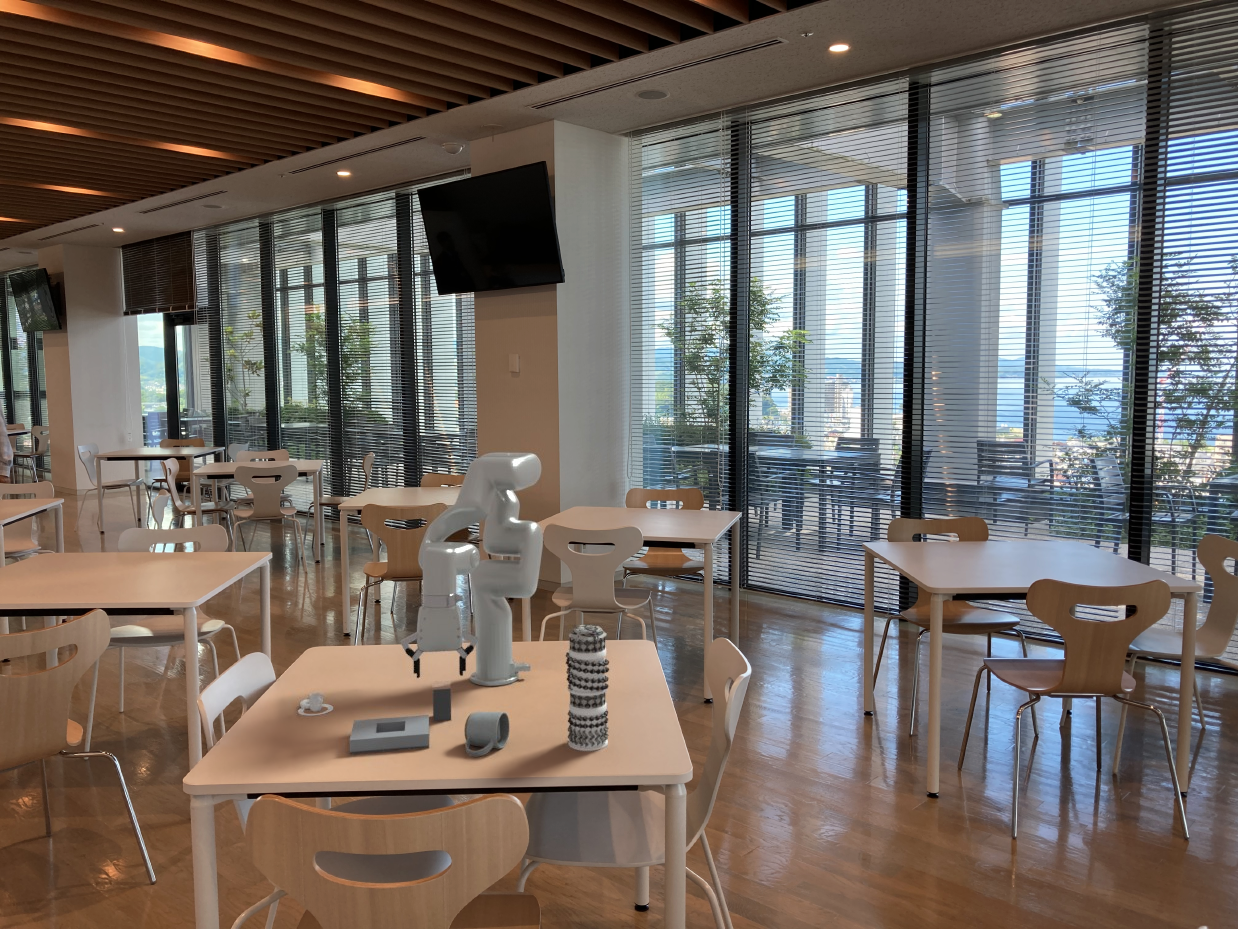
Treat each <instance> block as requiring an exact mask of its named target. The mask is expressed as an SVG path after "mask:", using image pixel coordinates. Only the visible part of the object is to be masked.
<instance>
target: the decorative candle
mask: <svg viewBox="0 0 1238 929" xmlns="http://www.w3.org/2000/svg"><path fill="white" fill-rule="evenodd" d="M607 635H608V633H606V632H605V631H604V630H603V629H602V627H600V626H599V625H596V624H581V625H577V626H575V627H574V628H573V630H572V632H569V634H568V636H569V648H568V651H567V652H565V653H566V654H565V657H566V660H565V664H566V665H567V668H566V674H567V678H566V681H567V683H568V685H567V691H568V692H569V704H568V705H569V706H568V707H569V708H568V709H569V710H568V712H567V715H568V720H567V722H568V724H569V725H568V728H567V732H568V735H567V738H568V746H569V747H570V748H571V749H574V750H576V751H581V752H591V751H599V750H602V749H604V748H606V747H607V746H608V744H609V741H608V738H609V733H608V732H609V726H608V722H609V718H608V714H609V710H607V708H608V707H607V706H608V705H607V701H606V696H607V695H606V692H608V689H609V684H608V683H607V682H608V681H609V677H608V676H607V675H606V674H607V673H609V671H610V668H609V667H608V665H610V664H609V663H610V661H609V660H608V659H607V658H605V657H607V647H606V637H607Z"/></svg>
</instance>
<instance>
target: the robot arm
mask: <svg viewBox="0 0 1238 929" xmlns="http://www.w3.org/2000/svg"><path fill="white" fill-rule="evenodd" d="M541 474H542V462H541V460H540V458H539V457H538V456H537V454H535V453H532V452H490V453H489V452H488V453H485V454H483V455H481V456H480V457H478V458H476V459H474V460H472V461H471V462H470V464H469V466H468V468H467V471H466V474H465V475H464V476H465V477H464V478H463V482H462V485H461V488H460V490H459V493H458V495H457V498H456V501H455V503H454V504H453V505H451V506H449V507H448V508H447V509H446V510H443V512H442V513H441V514H439V515H438V516H437V517H436V518H435V519H434V520H433V521H432V522H431V523H430V524H429V526H428V527H427V528H426V531H425V533H424V536H423V538H422V541H421V544H420V547H419V550H418V551H419V552H418V555H417V556H418V557H417V559H418V565H419V567H420V568H421V570H422V605H421V606H419V608H418V613H417V614H418V615H417V625H416V631H415V632H414V633H412V634H410V635H409V636H406V637H405V638H402V639H401V641H400V645H401V646H402V648H403V650H404V652H405V654H406V655H407V656H409V657H410V658H411V660H412V661H413V674H416V679H419V678H420V677H421V658H420V656H422V654H424V653H436V652H455V651H456V652H457V653H458V654H459V657H458V658H459V660H458V663H459V665H458V666H459V667H458V669H459V670H458V671H459V676H461V677H462V676H464V672H467V658H468V657H469V655H470V654H471V653H472V652H473V651H474V649H475V671H474V672H472V673H471V674H470V675H469V677H470V678H469V679H470V682H472V684H476V685H478V686H487V687H492V686H495V687H496V686H504V685H508V684H512V683H515V682H516V681H518V679H519V674H520V673H519V672H531V663H525V662H517V663H516V661H514V660H515V659H514V658H513V612H512V609H511V607H510V605H509V603H508V601H507V600H506V598H516V599H517V598H518V599H526V598H531V597H532V596H533V595H535V593H536V591H537V587H538V583H539V577H540V568H541V561H542V554H543V549H544V548H543V545H544V535H543V529H542V527H541V526H540V525H539V523H538V522H536V521H532V520H523V519H522V520H520V519H519V516H520V515H519V514H520V510H521V509H520V508H521V507H520V500H519V498H518V497H517V495H516V493H515V492H516V491H521V490H524V489H527V488H530V487H531V486H534V485H535V484H536V483H538V480H539V479H540V477H541ZM484 520H485V523H484V529H483V534H482V535H483V536H482V546H483V550H484V551H485V553H487V554H488V555H493V556H501V557H518V558H520V560H509V559H493V558H492V559H483V560H481V554H480V551H479V549H478V548H477V547H476V546H475V545H474V544H471V543H469V542H454V541H445V540H446V539H447V538H448V537H450V536H452V534H454V533H456V532H458V531H460V530H464V529H466V528H468V527H471V526H474V525H476V524H479V523H480V522H483V521H484ZM466 575H470V582H471V588H472V593H473V599H474V616H475V617H474V618H475V625H474V626H475V627H474V628H475V635H474V634H473V633H469V632H467V631H465V630H464V629H463V624H462V623H463V622H462V614H461V607H460V605H459V604H458V603H459V602H463V601H464V596H463V594H462V595H460V594H458V593H457V576H466ZM463 638H464V639H466V640H468V641H470V643H469V644H468V645H467V647H466V648H464V647H463ZM413 641H416V646H417V648H416V649H415V651H414V650H413V649H412V648H411V647H410V643H412V642H413Z"/></svg>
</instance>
